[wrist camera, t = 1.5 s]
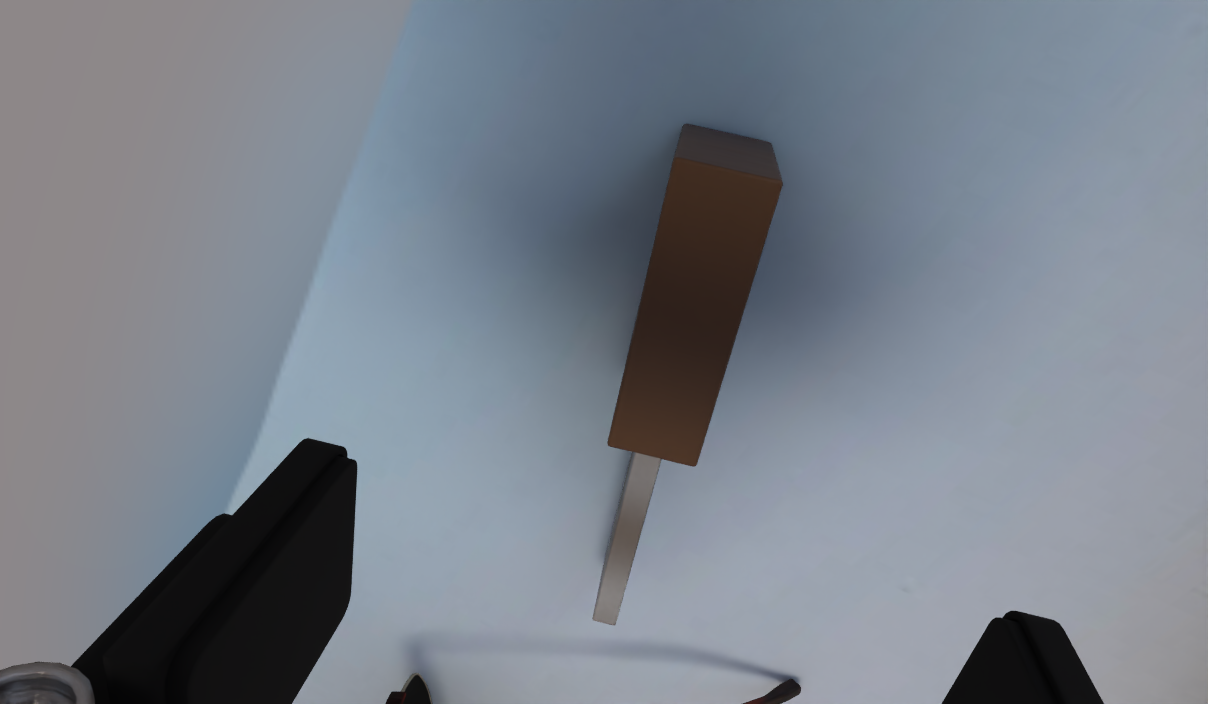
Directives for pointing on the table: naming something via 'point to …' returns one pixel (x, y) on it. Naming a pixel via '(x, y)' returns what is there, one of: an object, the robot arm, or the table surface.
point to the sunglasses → (417, 700)
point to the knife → (686, 322)
